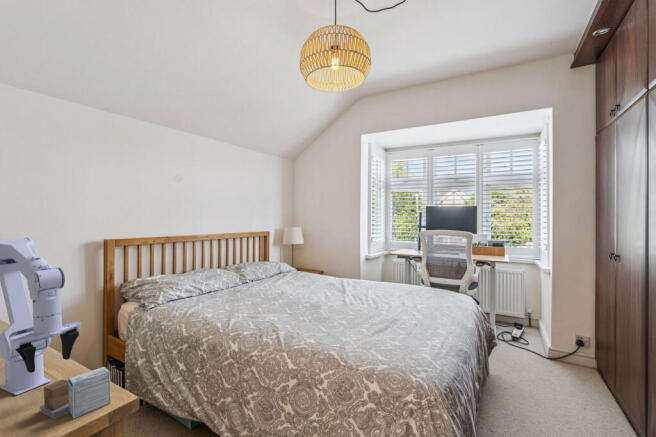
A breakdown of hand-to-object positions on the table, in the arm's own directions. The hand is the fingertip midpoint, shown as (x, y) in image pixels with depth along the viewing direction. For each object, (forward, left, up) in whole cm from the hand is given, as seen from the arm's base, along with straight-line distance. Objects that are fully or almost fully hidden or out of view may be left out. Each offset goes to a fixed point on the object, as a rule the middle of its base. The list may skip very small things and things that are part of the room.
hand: (49, 364), depth 84 cm
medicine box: (+14, +2, -10) cm, 17 cm away
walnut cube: (+8, -2, -8) cm, 11 cm away
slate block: (+8, -2, -10) cm, 13 cm away
